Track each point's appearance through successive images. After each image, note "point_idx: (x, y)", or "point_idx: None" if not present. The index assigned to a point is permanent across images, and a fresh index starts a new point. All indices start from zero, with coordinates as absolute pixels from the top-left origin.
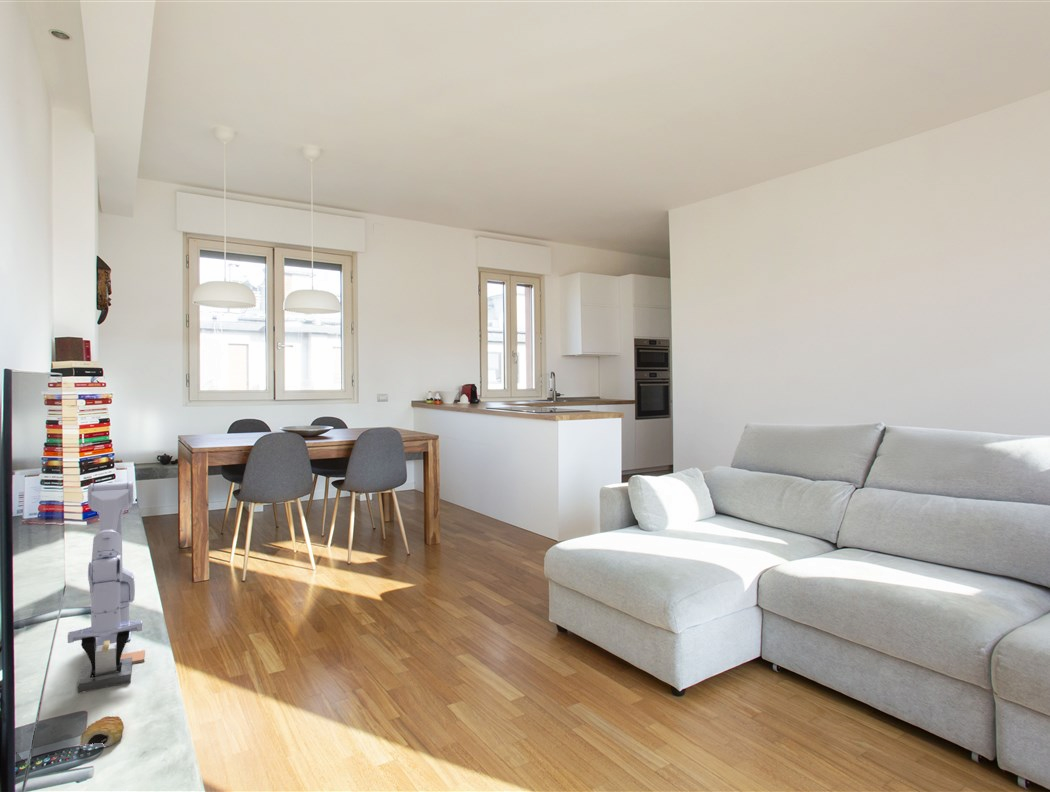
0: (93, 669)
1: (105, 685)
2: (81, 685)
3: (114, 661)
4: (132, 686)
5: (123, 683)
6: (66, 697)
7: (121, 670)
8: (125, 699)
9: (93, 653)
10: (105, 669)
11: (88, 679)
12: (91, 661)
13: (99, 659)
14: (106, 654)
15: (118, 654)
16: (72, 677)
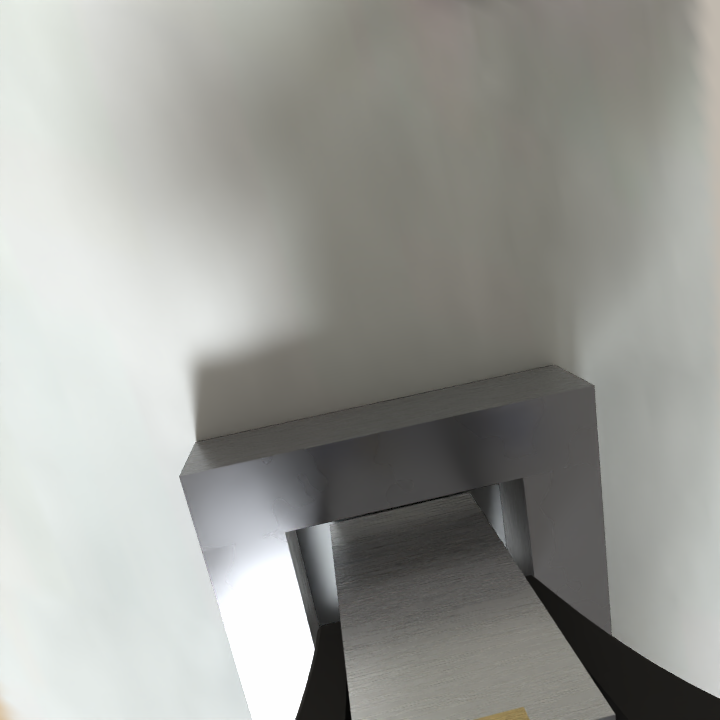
0: (527, 579)
1: (376, 408)
2: (559, 384)
3: (355, 628)
4: (152, 359)
5: (247, 432)
6: (619, 311)
7: (290, 569)
8: (125, 91)
9: (625, 703)
10: (423, 564)
11: (527, 457)
12: (588, 626)
13: (515, 634)
14: (458, 694)
15: (326, 714)
16: (636, 628)
